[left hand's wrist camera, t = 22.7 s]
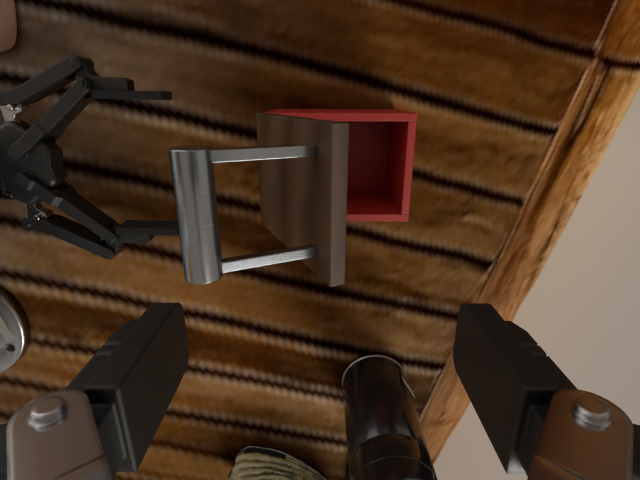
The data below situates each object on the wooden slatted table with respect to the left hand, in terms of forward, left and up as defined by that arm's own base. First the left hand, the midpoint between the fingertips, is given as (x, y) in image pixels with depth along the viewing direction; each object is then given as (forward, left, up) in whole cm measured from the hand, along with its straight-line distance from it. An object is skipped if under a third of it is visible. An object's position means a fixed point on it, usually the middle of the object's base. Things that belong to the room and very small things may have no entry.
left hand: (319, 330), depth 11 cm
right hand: (-5, +14, -31) cm, 34 cm away
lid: (0, +1, -20) cm, 20 cm away
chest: (+1, -2, -37) cm, 37 cm away
